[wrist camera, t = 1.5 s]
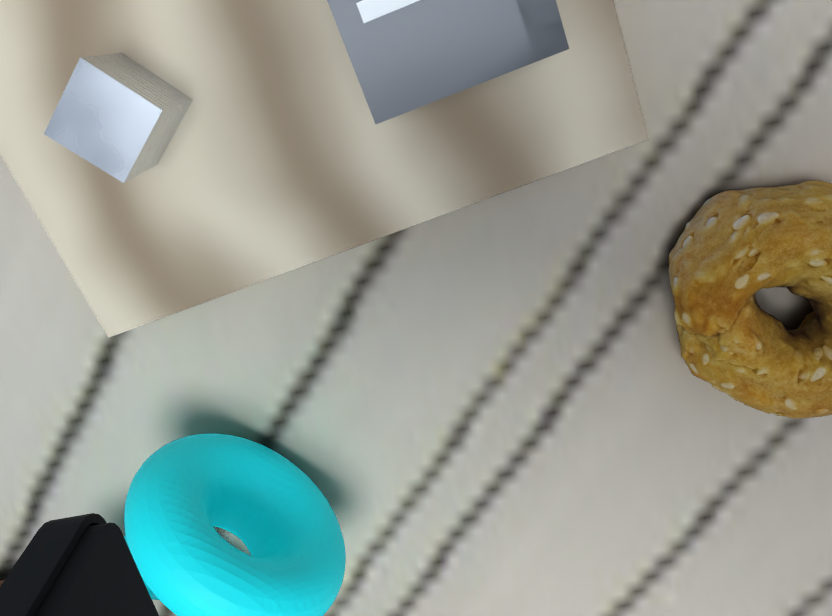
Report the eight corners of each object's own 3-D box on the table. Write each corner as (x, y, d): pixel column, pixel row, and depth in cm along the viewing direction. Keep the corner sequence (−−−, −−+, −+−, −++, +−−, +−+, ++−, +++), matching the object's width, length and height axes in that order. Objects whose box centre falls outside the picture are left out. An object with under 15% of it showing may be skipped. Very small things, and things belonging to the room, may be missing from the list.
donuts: (366, 490, 36) (347, 654, 27) (263, 614, 39) (214, 799, 30) (190, 387, 34) (103, 527, 25) (97, 527, 37) (-12, 697, 28)
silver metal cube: (121, 52, 27) (80, 57, 23) (193, 99, 27) (162, 110, 24) (87, 120, 28) (43, 134, 24) (157, 164, 28) (123, 183, 25)
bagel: (787, 116, 29) (853, 133, 25) (935, 290, 32) (1018, 334, 27) (602, 282, 32) (632, 324, 27) (752, 429, 35) (801, 490, 30)
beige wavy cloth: (518, -328, 24) (524, -350, 22) (637, 133, 29) (648, 139, 28) (-90, -42, 27) (-118, -45, 26) (121, 324, 32) (108, 337, 31)
